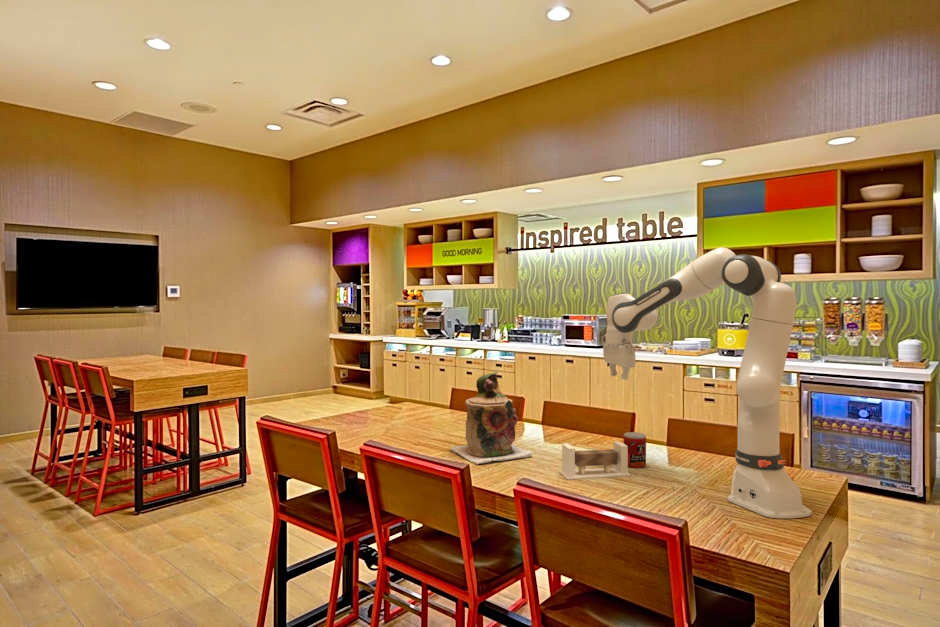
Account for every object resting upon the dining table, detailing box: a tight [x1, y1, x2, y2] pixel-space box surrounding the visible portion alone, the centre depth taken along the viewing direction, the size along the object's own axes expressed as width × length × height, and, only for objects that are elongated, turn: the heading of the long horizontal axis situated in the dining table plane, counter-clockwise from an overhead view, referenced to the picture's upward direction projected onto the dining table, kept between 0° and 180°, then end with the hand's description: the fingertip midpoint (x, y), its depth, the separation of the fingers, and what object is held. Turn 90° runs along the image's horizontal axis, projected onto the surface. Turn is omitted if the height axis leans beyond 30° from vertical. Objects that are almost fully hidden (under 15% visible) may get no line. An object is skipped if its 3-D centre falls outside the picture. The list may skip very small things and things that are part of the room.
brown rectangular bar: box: [575, 448, 617, 467], centre depth 198 cm, size 14×4×4 cm, turn 99°
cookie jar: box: [450, 370, 534, 465], centre depth 225 cm, size 25×25×32 cm
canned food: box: [623, 431, 647, 469], centre depth 208 cm, size 8×8×11 cm
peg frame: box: [559, 440, 631, 480], centre depth 198 cm, size 22×8×10 cm, turn 99°
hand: (619, 377), depth 209 cm, fingers open, 8 cm apart
